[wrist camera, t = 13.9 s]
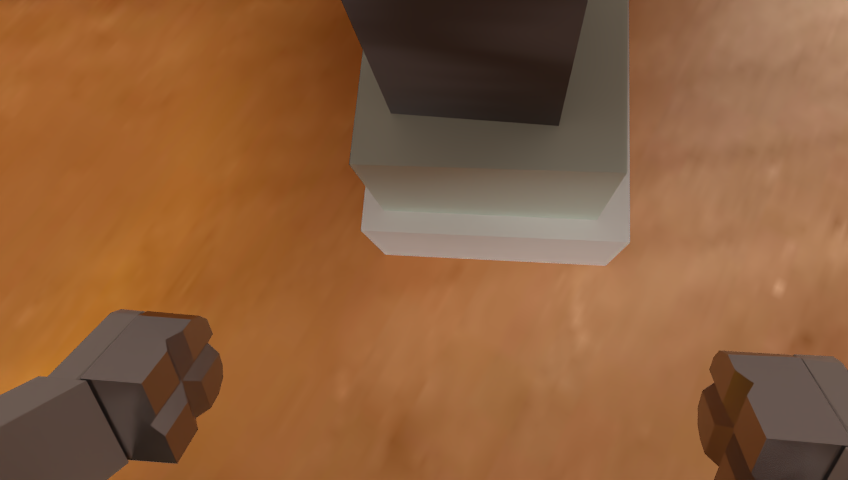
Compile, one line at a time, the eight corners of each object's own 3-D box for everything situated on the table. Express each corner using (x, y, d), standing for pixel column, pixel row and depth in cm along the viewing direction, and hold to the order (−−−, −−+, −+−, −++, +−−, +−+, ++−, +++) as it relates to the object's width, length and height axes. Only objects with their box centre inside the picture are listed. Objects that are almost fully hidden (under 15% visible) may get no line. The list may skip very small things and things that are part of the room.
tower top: (600, 26, 22) (627, -72, 17) (596, 220, 20) (626, 173, 15) (403, 27, 23) (376, -63, 18) (383, 210, 21) (349, 164, 16)
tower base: (605, 65, 27) (628, -2, 22) (604, 266, 24) (630, 242, 20) (404, 66, 28) (384, 3, 23) (386, 255, 26) (360, 230, 21)
